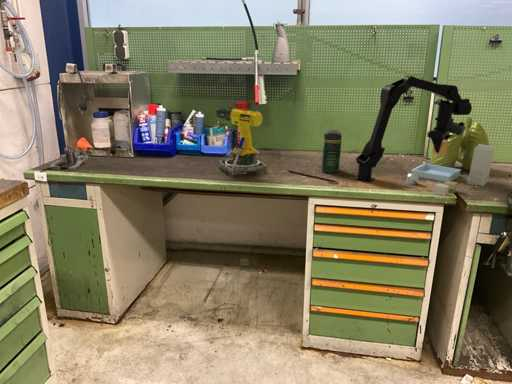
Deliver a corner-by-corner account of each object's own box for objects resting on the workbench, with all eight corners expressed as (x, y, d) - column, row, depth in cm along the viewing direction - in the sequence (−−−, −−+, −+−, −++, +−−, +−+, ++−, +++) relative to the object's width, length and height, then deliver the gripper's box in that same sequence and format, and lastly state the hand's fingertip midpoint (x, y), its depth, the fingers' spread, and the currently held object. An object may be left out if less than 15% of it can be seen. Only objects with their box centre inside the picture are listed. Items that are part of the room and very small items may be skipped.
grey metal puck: (415, 185, 171) (416, 176, 170) (404, 183, 174) (405, 174, 173) (419, 183, 175) (420, 174, 173) (408, 181, 177) (410, 172, 176)
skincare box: (472, 179, 181) (478, 143, 176) (489, 182, 177) (496, 146, 173) (467, 183, 175) (473, 146, 170) (484, 186, 171) (491, 149, 166)
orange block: (442, 155, 179) (444, 141, 177) (432, 154, 181) (434, 140, 180) (446, 154, 182) (448, 140, 180) (435, 152, 185) (437, 139, 183)
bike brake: (65, 159, 203) (41, 176, 185) (62, 146, 199) (37, 162, 182) (91, 161, 201) (70, 178, 183) (89, 147, 198) (67, 164, 180)
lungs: (479, 166, 204) (489, 116, 196) (491, 174, 189) (501, 121, 182) (425, 163, 208) (432, 114, 200) (432, 171, 193) (440, 118, 186)
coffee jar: (338, 174, 186) (342, 132, 181) (320, 173, 188) (323, 131, 182) (339, 168, 195) (342, 129, 190) (322, 167, 197) (324, 128, 191)
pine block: (453, 193, 162) (454, 184, 161) (442, 191, 165) (444, 182, 164) (456, 191, 165) (458, 182, 164) (446, 189, 168) (447, 180, 167)
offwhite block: (444, 196, 159) (445, 187, 158) (433, 194, 162) (435, 185, 160) (447, 194, 162) (449, 185, 161) (437, 191, 164) (438, 183, 163)
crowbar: (341, 181, 174) (334, 183, 170) (341, 183, 174) (334, 186, 171) (287, 168, 191) (280, 170, 188) (287, 170, 192) (280, 173, 188)
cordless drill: (251, 162, 204) (250, 104, 195) (268, 171, 188) (269, 109, 179) (215, 166, 197) (213, 107, 188) (230, 177, 180) (229, 112, 172)
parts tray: (448, 183, 175) (449, 176, 174) (410, 176, 184) (411, 169, 183) (459, 176, 186) (460, 169, 185) (423, 169, 196) (424, 163, 195)
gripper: (458, 119, 165) (452, 158, 170) (471, 115, 178) (465, 150, 183) (429, 117, 172) (424, 154, 177) (444, 112, 185) (439, 147, 190)
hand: (439, 151), depth 181 cm, fingers closed on orange block, 4 cm apart
